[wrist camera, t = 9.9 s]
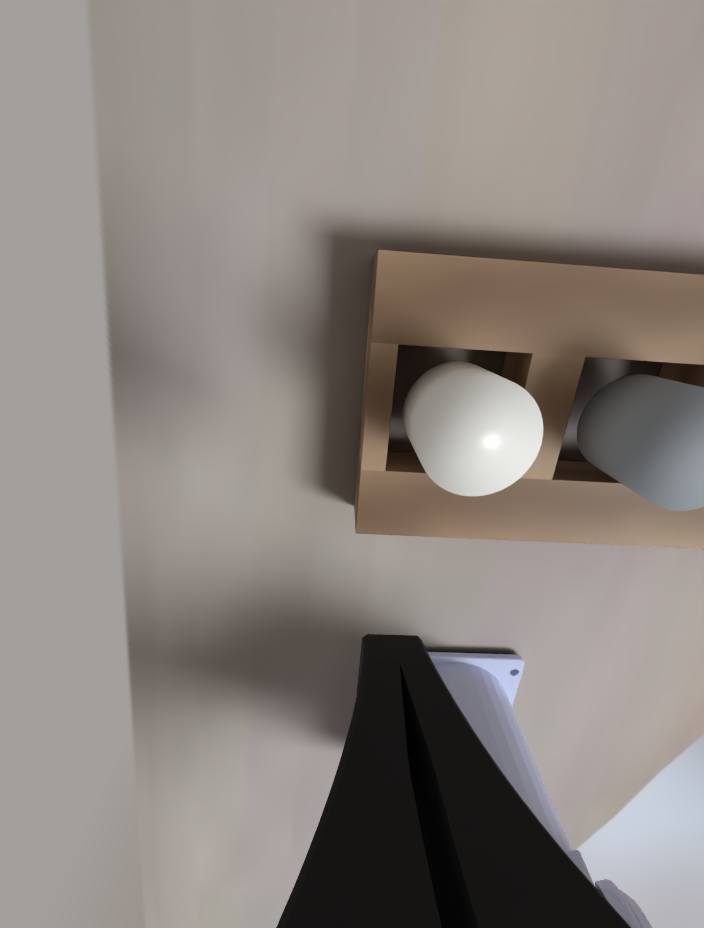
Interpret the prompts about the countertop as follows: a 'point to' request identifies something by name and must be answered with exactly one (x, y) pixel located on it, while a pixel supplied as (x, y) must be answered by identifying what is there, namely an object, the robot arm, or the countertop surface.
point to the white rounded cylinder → (472, 428)
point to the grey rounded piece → (648, 438)
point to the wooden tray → (540, 373)
